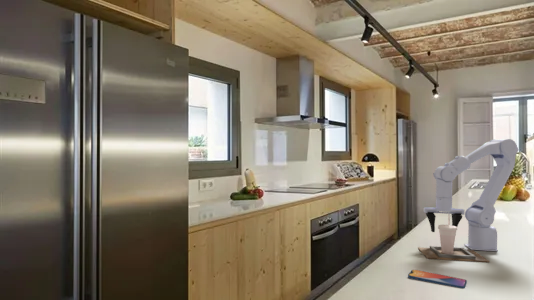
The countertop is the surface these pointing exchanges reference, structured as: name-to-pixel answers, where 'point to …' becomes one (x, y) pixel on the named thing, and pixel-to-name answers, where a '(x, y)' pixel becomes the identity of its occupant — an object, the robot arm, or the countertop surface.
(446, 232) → the smoothie
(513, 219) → the countertop surface
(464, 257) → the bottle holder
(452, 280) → the smartphone
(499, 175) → the robot arm
